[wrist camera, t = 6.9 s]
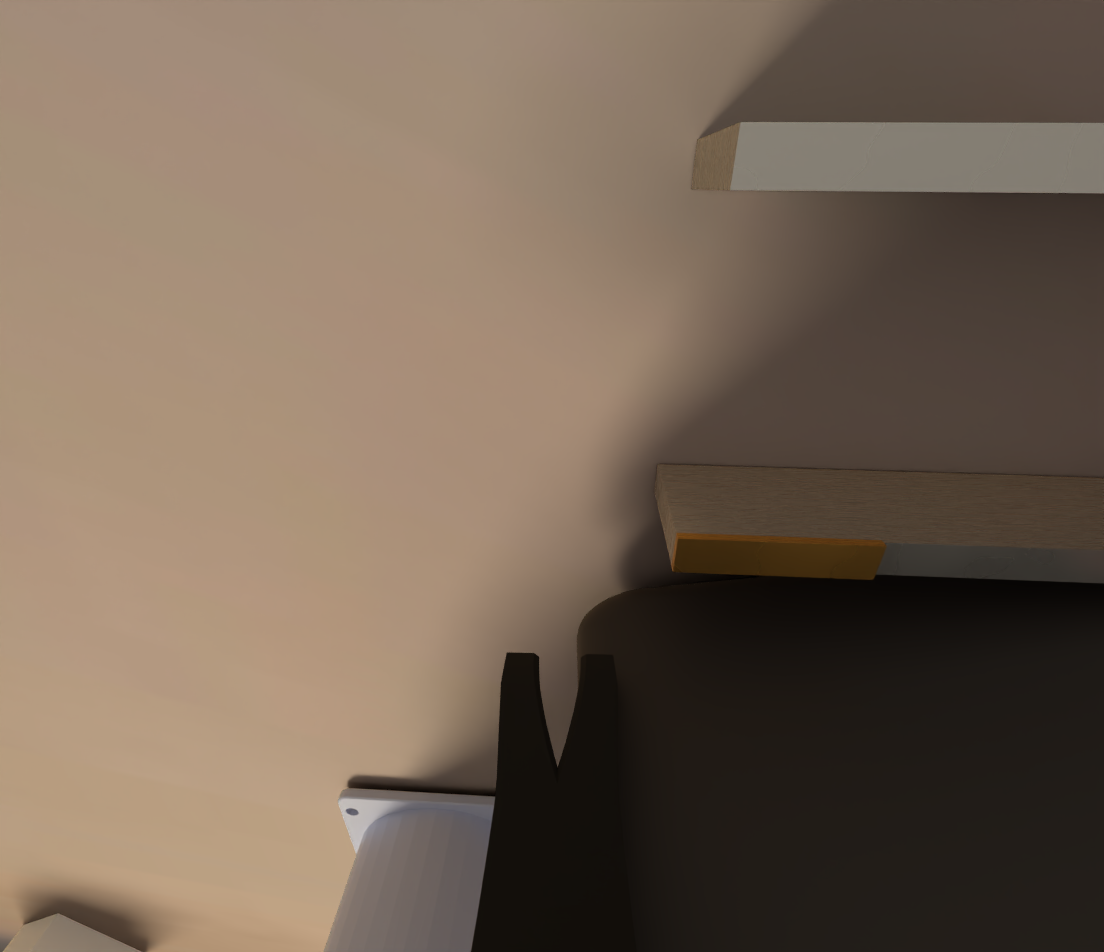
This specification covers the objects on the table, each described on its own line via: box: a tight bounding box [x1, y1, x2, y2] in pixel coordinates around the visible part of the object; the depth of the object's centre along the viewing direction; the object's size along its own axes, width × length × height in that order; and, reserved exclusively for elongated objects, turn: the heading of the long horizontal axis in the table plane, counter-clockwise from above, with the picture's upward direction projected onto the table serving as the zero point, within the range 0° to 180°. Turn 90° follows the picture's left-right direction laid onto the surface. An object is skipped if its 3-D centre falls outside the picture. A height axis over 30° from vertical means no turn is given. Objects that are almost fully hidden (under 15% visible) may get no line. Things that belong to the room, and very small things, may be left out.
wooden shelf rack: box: [654, 122, 1104, 583], centre depth 13 cm, size 21×15×4 cm
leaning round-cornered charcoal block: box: [577, 574, 1104, 952], centre depth 11 cm, size 16×5×9 cm, turn 99°
